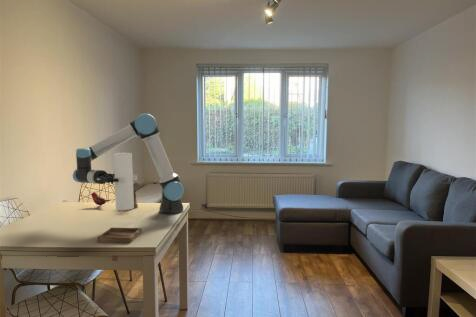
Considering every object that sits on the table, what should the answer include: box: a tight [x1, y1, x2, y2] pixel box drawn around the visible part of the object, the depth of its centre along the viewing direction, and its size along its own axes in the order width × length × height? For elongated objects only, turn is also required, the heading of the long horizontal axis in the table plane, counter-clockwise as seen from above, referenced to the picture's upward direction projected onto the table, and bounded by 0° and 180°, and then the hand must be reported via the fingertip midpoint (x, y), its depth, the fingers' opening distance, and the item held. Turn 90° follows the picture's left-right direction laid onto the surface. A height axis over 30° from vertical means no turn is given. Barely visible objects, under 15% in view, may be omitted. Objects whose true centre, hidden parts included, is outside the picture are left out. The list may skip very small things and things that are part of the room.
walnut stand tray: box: [97, 227, 143, 244], centre depth 182 cm, size 16×16×2 cm
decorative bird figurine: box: [91, 191, 111, 208], centre depth 245 cm, size 3×18×10 cm, turn 65°
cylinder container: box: [113, 151, 135, 211], centre depth 196 cm, size 9×9×30 cm
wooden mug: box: [132, 182, 140, 210], centre depth 243 cm, size 9×14×18 cm, turn 42°
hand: (130, 179), depth 194 cm, fingers closed on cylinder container, 9 cm apart
